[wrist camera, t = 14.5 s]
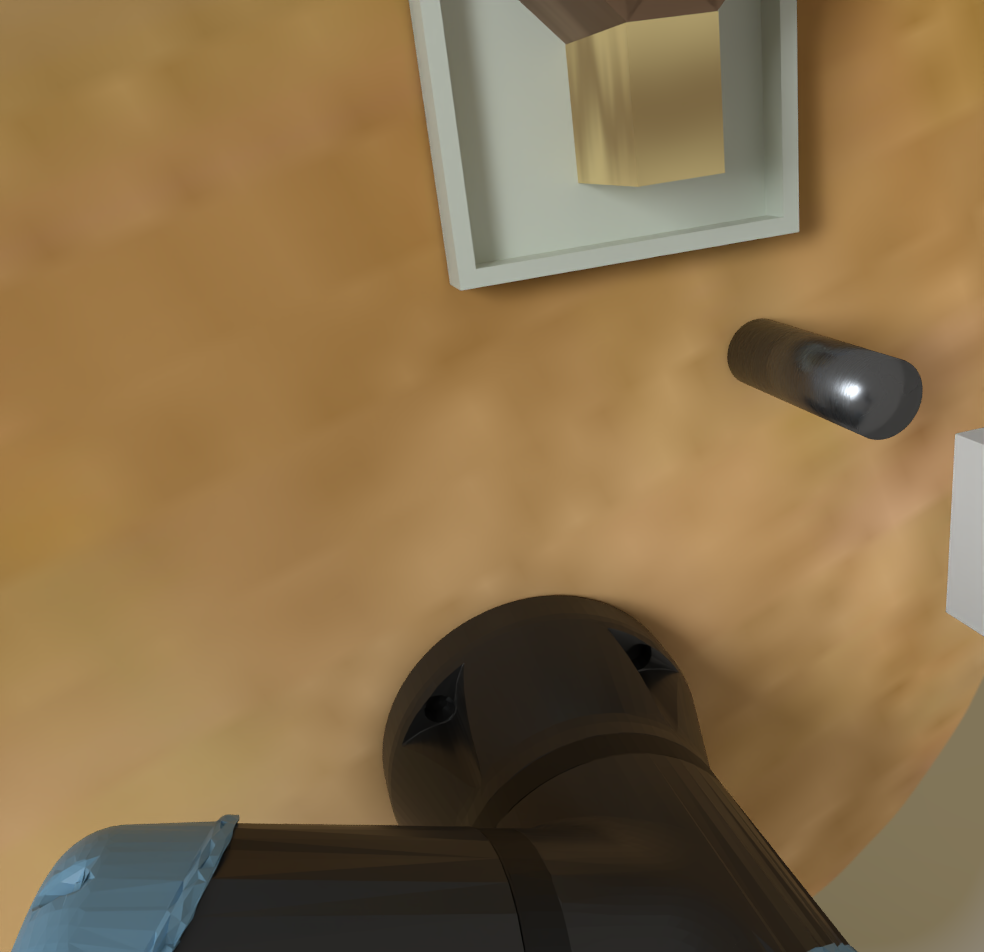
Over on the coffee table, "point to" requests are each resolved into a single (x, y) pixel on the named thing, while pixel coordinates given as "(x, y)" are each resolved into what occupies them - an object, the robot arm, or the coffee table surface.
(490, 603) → the coffee table surface
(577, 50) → the brown octagonal handled piece
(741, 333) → the cylinder
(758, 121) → the tray
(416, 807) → the robot arm
